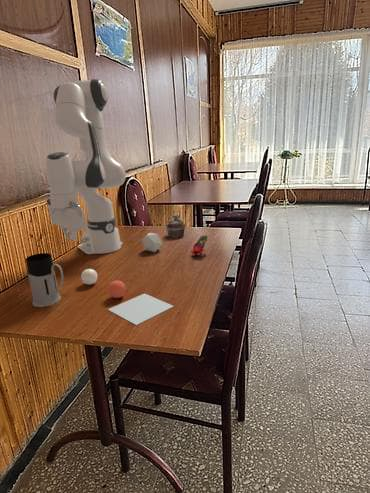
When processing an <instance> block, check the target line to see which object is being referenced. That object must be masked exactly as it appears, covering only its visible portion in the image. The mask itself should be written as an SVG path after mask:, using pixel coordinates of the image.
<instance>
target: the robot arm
mask: <svg viewBox="0 0 370 493" xmlns="http://www.w3.org/2000/svg"><path fill="white" fill-rule="evenodd" d="M108 98H109V96H108V90H107V87H106V85H105V84H104V82H103V81H102V80H101V79H97V78H96V79H95V78H92V79H83V80H77V81H73V82H69V81H67V82H64V83H62V84H60V85H58V86H56V87H55V89H54V91H53V100H54V104H55V112H54V113H55V114H54V115H55V116H54V117H55V122H56V125H57V126H58V128H59V129H60V130H61V131H63V132H64V133H65V134H67V135H70V136H73V137H77V138H79V148H80V150H81V152H82V153H83V154H85V155H86V156H88V158H86V159H84V160H72V159H71V156H70V154H69V153H68V152H63V151H60V152H59V151H58V152H52V153H50V154H48V155H47V156H46V159H45V170H46V177H47V182H48V184H49V188H50V191H49V195H50V196H49V197H48V198H47V199H46V200H45V202H46V205H47V206H48V212H49V218H50V220H51V222H52V224H53V225H57V226H59V227H61V231H62V232H63V234H64V238H65V239H70V240H71V241H77V240H78V232H81V231H84V233H82V235H81V238H80V240H81V243H80V244H78V245H77V248H78V249H80V250H81V251H82V252H83V253H85V254H86V255H94V254H99V255H102V254H109V253H113V252H116V251H119V250H120V249H121V248H122V245H124V244H123V241H121V238H120V232H119V228H117V227H116V223H117V222H116V219H115V217H114V215H115V214H114V209H113V208H114V207H113V203H112V200H111V199H109V198H108V197H106V196H104V195H101V194H99V193H98V191H97V190H99V189H111V188H116V187H120V186H122V185H123V184H124V183H125V181H126V178H127V174H126V170H125V167H124V165H122V164H121V163H120V162H119V161H117V160H115V159H114V158H113V156H112V155H111V154H110V152H109V149H108V146H107V140H106V129H105V123H104V119H103V118H104V117H103V115H102V111H103V110H104V109H105V108H104V107H106V105H107V103H108ZM78 195H79V196H80V197H81V199H82V200H83V201H84V204H85V207H86V211H87V217H88V220H87V218H86V215H85V214H86V213H85V211H84V209H83V208H82V207H81V206H80V204H79V198H78Z"/></svg>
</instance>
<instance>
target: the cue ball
mask: <svg viewBox="0 0 370 493" xmlns="http://www.w3.org/2000/svg"><path fill="white" fill-rule="evenodd" d="M80 276H81V277H80V279H81V282H82V283H84V284H85V285H94V284H95V283H96V282H97V281H98V272H97V271H96V270H95V269H93V268H86V269H84V270H83V271H82V273H81V274H80Z"/></svg>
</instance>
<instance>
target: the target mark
mask: <svg viewBox="0 0 370 493" xmlns="http://www.w3.org/2000/svg"><path fill="white" fill-rule="evenodd" d="M174 307H175V306H174V305H172V304H170V303H168V302H165V301H164V300H161V299H158V298H156V297H154V296H152V295H149V294H147V293H143V294H140V295H138V296H135V297H133V298H131V299H128V300H127V301H126V300H125V301H124V302H122V303H120V304H119V303H118V304H117V305H114V306H112V307H110V308H108V309H107V310H108V311H109V312H111V313H113V314H114V315H116V316H118V317H120V318H122V319H123V320H126V321H127V322H129V323H132V324H133V325H135V326H138V325H140V324H142V323H144V322H146V321H149V320H150V319H152V318H154V317H156V316H158V315H160V314H162V313H164V312H166V311H168V310H171V309H173V308H174Z"/></svg>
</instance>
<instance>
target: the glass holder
mask: <svg viewBox="0 0 370 493" xmlns="http://www.w3.org/2000/svg"><path fill="white" fill-rule="evenodd" d="M25 262H26V263H25V264H26V267H27V268H26V269H27V275H28V276H27V277H28V281H29V287H30V289H31V290H30V291H31V296H32V306H34V307H37V308H38V307H39V308H44V307H45V306H46V307H49V306H50V307H51V306H54V305H55V303H56V304H57V303H59V302H60V301H61V300H62V296H61V295H60V292H59V291H60V290H61V289H62V287H63V284H64V272H63V271H64V270H63V269H62V266H61V265H59V264H58V263H54V262H53V258H52V254H51V253H48V252H46V253H45V252H41V253H35V254H31V255H30V256H29V255H28V256H27V257H26V258H25ZM55 266H56V267H57V268H58V269H59V271H60V285H59V287H58V283H57V282H58V281H57V277H56V275H57V274H56V271H55V268H54V267H55ZM60 299H61V300H60ZM59 300H60V301H59ZM58 301H59V302H58Z"/></svg>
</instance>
